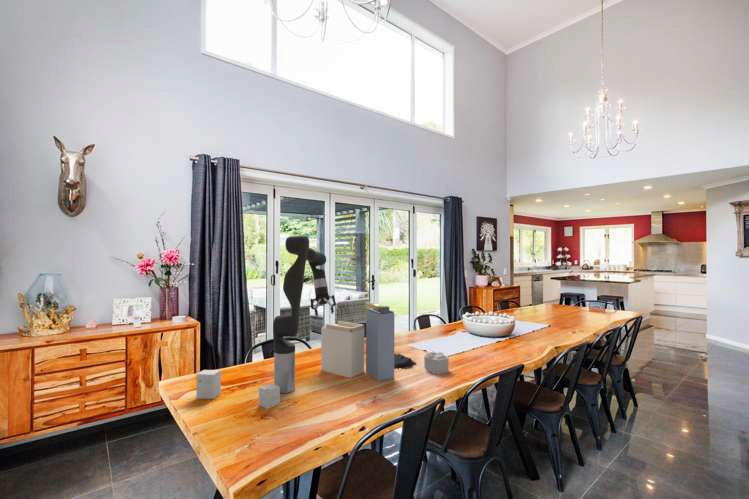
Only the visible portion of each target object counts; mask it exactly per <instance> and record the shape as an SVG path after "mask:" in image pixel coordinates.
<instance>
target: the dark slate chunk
mask: <svg viewBox="0 0 749 499" xmlns="http://www.w3.org/2000/svg"><path fill="white" fill-rule="evenodd" d="M412 365H413V366H415V365H417V362H416V361H413V360H412V358H411V357H408V356H404V355H402V353H397V354H396V353H394V370H400V369H399V368H401V369H406V368H405V367H407V368H410V367H409V366H411V367H412ZM396 368H397V369H396Z"/></svg>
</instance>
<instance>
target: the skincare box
mask: <svg viewBox="0 0 749 499" xmlns="http://www.w3.org/2000/svg"><path fill="white" fill-rule="evenodd" d="M280 402H281V393H280V387H279V386H276V385H274V383H268V384H266V385H261V386H260V387H258V405H259V406H260V407H262V408H264V409H266V410H269V409H271V408H274V407H277V406H279V405H280V404H281V403H280Z"/></svg>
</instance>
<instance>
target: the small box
mask: <svg viewBox="0 0 749 499" xmlns="http://www.w3.org/2000/svg"><path fill="white" fill-rule="evenodd" d="M195 375H196V377H195V378H196V379H195V381H196V383H195V384H196V389H195V391H196V399H198V400H199V399H201V400H214V399H216V398H217V397H219V396H220V395H221V394H222V391H221V390H222V388H221V377H222V376H221V370H219V369H218V370H217V369H203V370H201V371H199V372H197V373H196V374H195Z"/></svg>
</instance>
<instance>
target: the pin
mask: <svg viewBox="0 0 749 499" xmlns="http://www.w3.org/2000/svg"><path fill="white" fill-rule="evenodd" d="M363 305H364V308H366V309H367V308H369V309H372V310H375V311H378V312H380V313H381V314H387V313H389V310H390V306H388V305H384V306H383V305H380V304H376V303H373V302H370V301H365V302H364V303H363Z"/></svg>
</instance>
